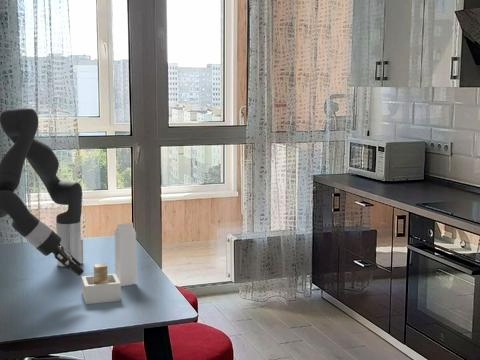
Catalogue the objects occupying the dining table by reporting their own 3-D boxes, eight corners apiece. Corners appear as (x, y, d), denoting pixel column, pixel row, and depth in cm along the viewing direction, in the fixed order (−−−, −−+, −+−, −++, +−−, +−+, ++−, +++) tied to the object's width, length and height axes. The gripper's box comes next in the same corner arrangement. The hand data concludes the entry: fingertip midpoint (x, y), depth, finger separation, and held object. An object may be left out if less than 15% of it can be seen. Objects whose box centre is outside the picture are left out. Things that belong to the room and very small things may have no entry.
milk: (136, 284, 219) (136, 224, 216) (120, 286, 216) (119, 225, 213) (130, 279, 224) (130, 221, 221) (114, 281, 221) (114, 222, 218)
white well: (85, 304, 197) (85, 286, 197) (81, 293, 208) (81, 276, 207) (120, 300, 201) (120, 283, 201) (115, 290, 212) (115, 273, 211)
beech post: (95, 296, 202) (95, 267, 201) (94, 292, 206) (93, 264, 204) (107, 295, 203) (107, 266, 202) (106, 291, 207) (105, 263, 206)
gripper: (52, 234, 189) (90, 267, 195) (49, 225, 203) (85, 256, 208) (35, 252, 188) (74, 284, 194) (33, 241, 202) (70, 272, 207)
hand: (80, 269), depth 201 cm, fingers open, 8 cm apart
